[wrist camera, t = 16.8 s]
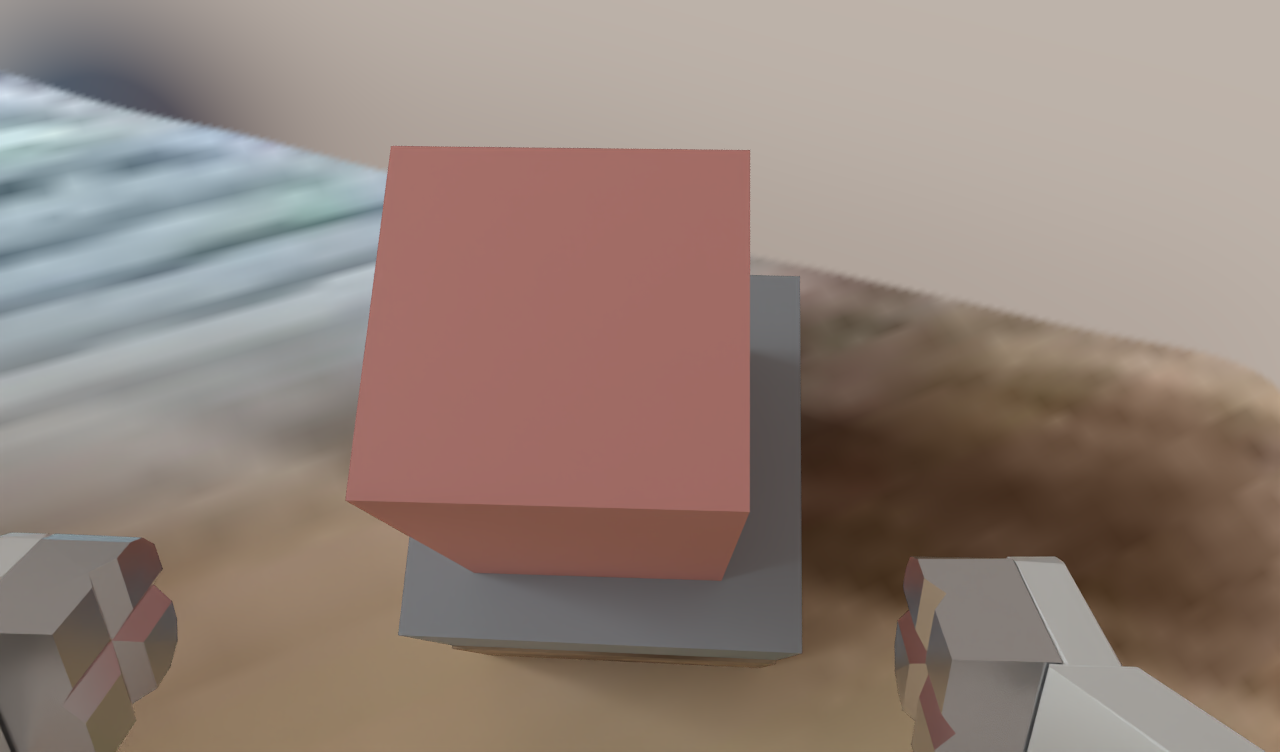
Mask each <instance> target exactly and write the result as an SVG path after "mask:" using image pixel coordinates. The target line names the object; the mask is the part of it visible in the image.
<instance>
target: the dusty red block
mask: <svg viewBox="0 0 1280 752" xmlns="http://www.w3.org/2000/svg"><path fill="white" fill-rule="evenodd" d="M345 501H347V502H349V503H351V504H353V505H354V506H356V507H358V508H360V509H361V510H363V511H365V512H367V513H369V514H370V515H372V516H374V517H376V518H377V519H379V520H381V521H383V522H385V523H386V524H388V525H390V526H392V527H393V528H395V529H397V530H399V531H401V532H402V533H404V534H406V535H408V536H409V537H411V538H413V539H415V540H417V541H418V542H420V543H422V544H424V545H425V546H427V547H429V548H431V549H433V550H434V551H436V552H438V553H440V554H441V555H443V556H445V557H447V558H449V559H450V560H452V561H454V562H456V563H457V564H459V565H461V566H463V567H465V568H466V569H468V570H470V571H472V572H473V573H495V574H526V575H557V576H588V577H619V578H650V579H682V580H713V581H722V578H723V576H724V573H725V571H726V569H727V566H728V564H729V561H730V559H731V556H732V554H733V551H734V549H735V547H736V544H737V542H738V539H739V537H740V534H741V532H742V530H743V527H744V525H745V522H746V520H747V517H748V515H749V513H750V150H687V149H601V148H596V149H595V148H515V147H513V148H512V147H428V146H391V150H390V159H389V166H388V174H387V181H386V189H385V197H384V205H383V212H382V220H381V228H380V236H379V243H378V251H377V259H376V267H375V274H374V282H373V290H372V298H371V305H370V313H369V321H368V329H367V336H366V344H365V352H364V360H363V367H362V375H361V383H360V390H359V398H358V406H357V414H356V421H355V429H354V437H353V445H352V452H351V460H350V468H349V476H348V483H347V491H346V499H345Z"/></svg>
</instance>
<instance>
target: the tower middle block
mask: <svg viewBox="0 0 1280 752" xmlns="http://www.w3.org/2000/svg"><path fill="white" fill-rule="evenodd" d="M398 635H400V636H405V637H411V638H416V639H421V640H427V641H432V642H438V643H443V644H448V645H456V646H478V647H500V648H522V649H544V650H566V651H588V652H610V653H632V654H654V655H676V656H698V657H720V658H742V659H765V660H779V659H783V658H786V657H790V656H794V655H798V654H802V554H801V387H800V276H765V275H750V513H749V515H748V517H747V520H746V522H745V525H744V527H743V530H742V532H741V534H740V537H739V539H738V542H737V544H736V547H735V549H734V551H733V554H732V556H731V559H730V561H729V564H728V566H727V569H726V571H725V573H724V576H723V578H722V581H713V580H682V579H650V578H619V577H588V576H557V575H526V574H495V573H473V572H472V571H470V570H468V569H466V568H465V567H463V566H461V565H459V564H457V563H456V562H454V561H452V560H450V559H449V558H447V557H445V556H443V555H441V554H440V553H438V552H436V551H434V550H433V549H431V548H429V547H427V546H425V545H424V544H422V543H420V542H418V541H417V540H415V539H413V538H411V537H410V538H409V546H408V555H407V563H406V572H405V581H404V589H403V598H402V606H401V615H400V623H399V632H398Z"/></svg>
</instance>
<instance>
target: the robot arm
mask: <svg viewBox="0 0 1280 752" xmlns="http://www.w3.org/2000/svg"><path fill="white" fill-rule="evenodd" d="M162 569H163V568H162V565H161V562H160V559H159V556H158V553H157V550H156V548H155V545H154V544H153V543H151V542H149V541H147V540H146V539H144V538H138V537H116V536H95V535H73V534H54V535H52V534H41V533H9V534H5V535H2V536H0V752H116V750H117V749H118V747H119V746H120V744H121V743H122V741H123V740H124V738H125V737H126V735H127V734H128V732H129V731H130V729H131V728H132V726H133V725H134V723H135V722H136V717H135V712H134V708H133V703H134V702H136V701H137V700H139V699H141V698H142V697H144V696H145V695H147V694H149V693H150V692H152V691H153V690H155V689H156V688H158V686H159V684H160V683H161V681H162V680H163V678H164V676H165V675H166V673H167V671H168V670H169V668H170V666H171V663H172V659H173V655H174V652H175V648H176V644H177V641H178V639H177V617H176V614H175V610H174V606H173V603H172V601H171V600H170V599H169V598H168V597H167V596H166V595H165V594H164V593H162V592H161V591H160V590H159V589H158V588H157V587H156V586H155V585H154V583H155V581H156V580H157V578H158V576H159V574H160V573H161V571H162ZM903 590H904V593H905V596H906V600H907V603H908V607H909V610H908V611H907V612H906V613H905V614H904V615H903V616H902V617H901V618H900V619H899V620H898V622H897V630H896V639H895V676H896V682H897V689H898V694H899V698H900V702H901V707H902V710H903V711H904V712H905V713H906V714H907V715H908V716H910V717H911V718H912V719H913V720H914V721H915V725H914V731H913V737H912V743H911V746H912V749H913V752H1265V751H1264V750H1262V749H1261V748H1259V747H1258V746H1256V745H1255V744H1253V743H1252V742H1250V741H1249V740H1247V739H1246V738H1244V737H1243V736H1241V735H1240V734H1238V733H1237V732H1235V731H1233V730H1232V729H1230V728H1229V727H1227V726H1226V725H1224V724H1223V723H1221V722H1220V721H1218V720H1217V719H1215V718H1214V717H1212V716H1211V715H1209V714H1208V713H1206V712H1205V711H1203V710H1202V709H1200V708H1199V707H1197V706H1196V705H1194V704H1193V703H1191V702H1190V701H1188V700H1187V699H1185V698H1184V697H1182V696H1181V695H1179V694H1178V693H1176V692H1175V691H1173V690H1172V689H1170V688H1169V687H1167V686H1166V685H1164V684H1163V683H1161V682H1159V681H1158V680H1156V679H1155V678H1153V677H1152V676H1150V675H1149V674H1147V673H1146V672H1144V671H1143V670H1141V669H1140V668H1138V667H1126V666H1122V665H1121V663H1120V661H1119V659H1118V658H1117V656H1116V654H1115V652H1114V650H1113V649H1112V647H1111V645H1110V643H1109V642H1108V640H1107V638H1106V636H1105V634H1104V633H1103V631H1102V629H1101V627H1100V626H1099V624H1098V622H1097V620H1096V618H1095V617H1094V615H1093V613H1092V611H1091V610H1090V608H1089V606H1088V604H1087V602H1086V601H1085V599H1084V597H1083V595H1082V594H1081V592H1080V590H1079V588H1078V586H1077V585H1076V583H1075V581H1074V579H1073V578H1072V576H1071V574H1070V572H1069V571H1068V569H1067V567H1066V565H1065V563H1064V562H1063V561H1061V560H1060V559H1058V558H1057V557H1007V558H964V557H912V556H910V559H909V562H908V564H907V567H906V571H905V577H904V583H903Z"/></svg>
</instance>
